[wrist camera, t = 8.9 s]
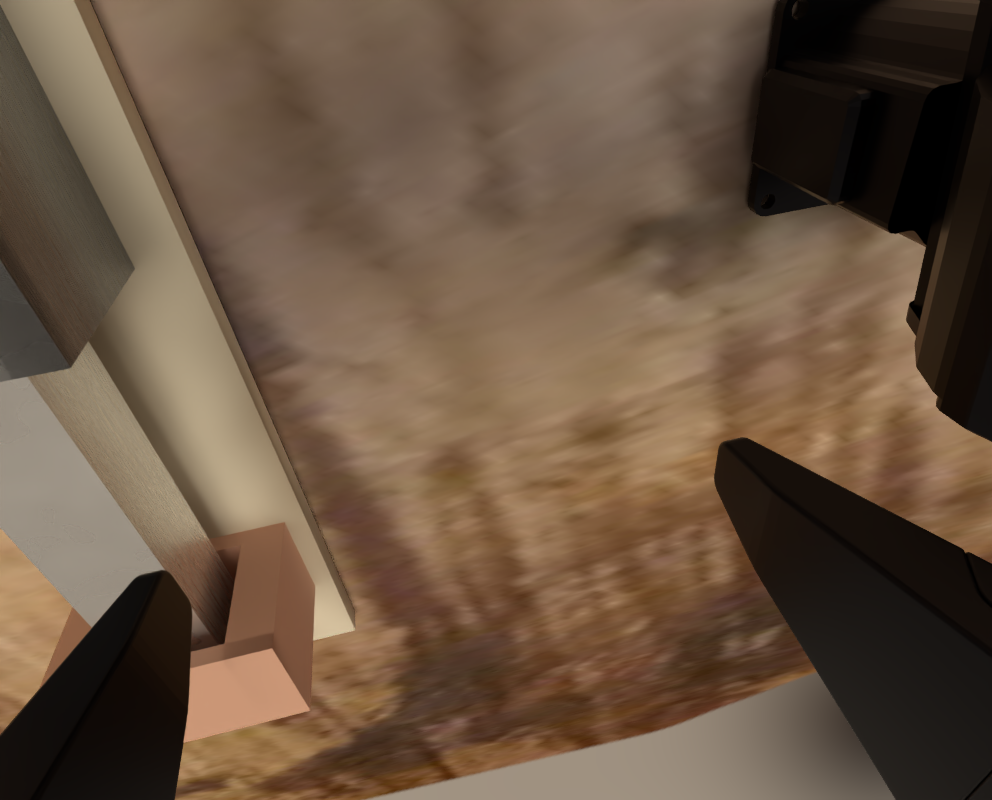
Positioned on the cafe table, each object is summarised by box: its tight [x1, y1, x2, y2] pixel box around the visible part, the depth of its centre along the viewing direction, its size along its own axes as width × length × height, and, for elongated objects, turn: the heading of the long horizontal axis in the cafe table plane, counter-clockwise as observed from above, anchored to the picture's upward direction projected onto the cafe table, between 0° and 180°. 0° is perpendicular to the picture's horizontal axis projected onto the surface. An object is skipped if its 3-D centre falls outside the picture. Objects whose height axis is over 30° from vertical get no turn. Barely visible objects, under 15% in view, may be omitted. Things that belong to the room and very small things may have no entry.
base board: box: [0, 0, 355, 641], centre depth 20 cm, size 9×28×1 cm, turn 6°
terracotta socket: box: [39, 522, 315, 743], centre depth 23 cm, size 7×4×6 cm, turn 96°
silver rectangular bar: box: [0, 341, 235, 652], centre depth 18 cm, size 3×17×3 cm, turn 6°
